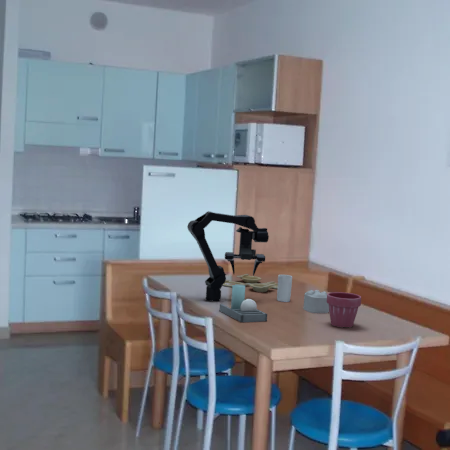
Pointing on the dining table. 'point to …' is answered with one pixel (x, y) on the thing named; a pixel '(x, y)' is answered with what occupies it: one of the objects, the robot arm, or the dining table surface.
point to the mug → (284, 288)
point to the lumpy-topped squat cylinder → (316, 302)
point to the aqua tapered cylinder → (237, 296)
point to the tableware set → (253, 279)
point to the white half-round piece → (248, 305)
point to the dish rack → (244, 314)
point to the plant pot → (343, 308)
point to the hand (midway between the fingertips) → (243, 275)
